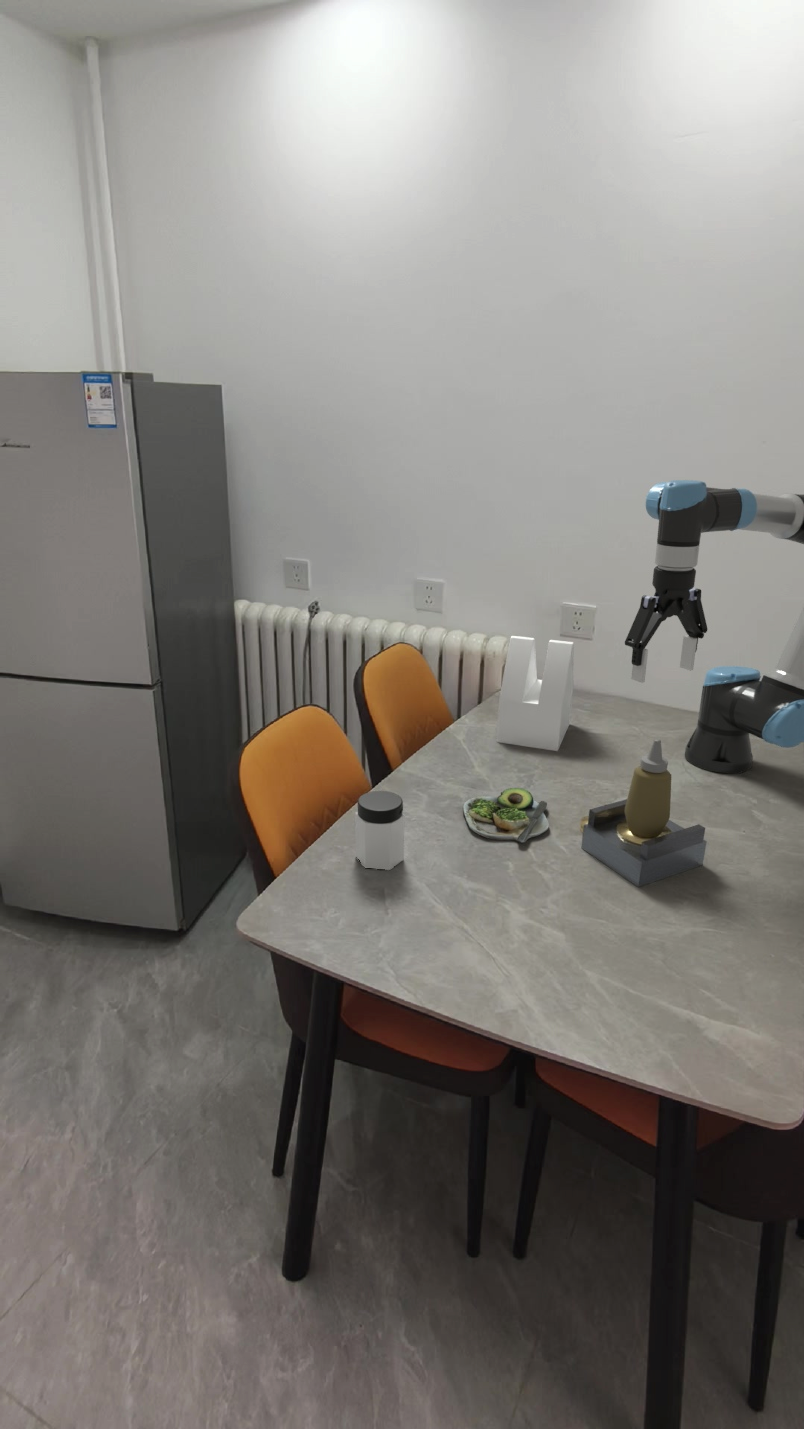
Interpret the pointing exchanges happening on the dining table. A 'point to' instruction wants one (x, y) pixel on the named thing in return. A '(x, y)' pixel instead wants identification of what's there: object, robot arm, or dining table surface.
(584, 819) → the brass dome knob
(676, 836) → the grey rimmed block
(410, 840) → the dining table surface
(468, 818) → the avocado toast plate
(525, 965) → the dining table surface
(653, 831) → the squeeze bottle
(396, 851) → the jar
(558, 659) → the white notched stand
